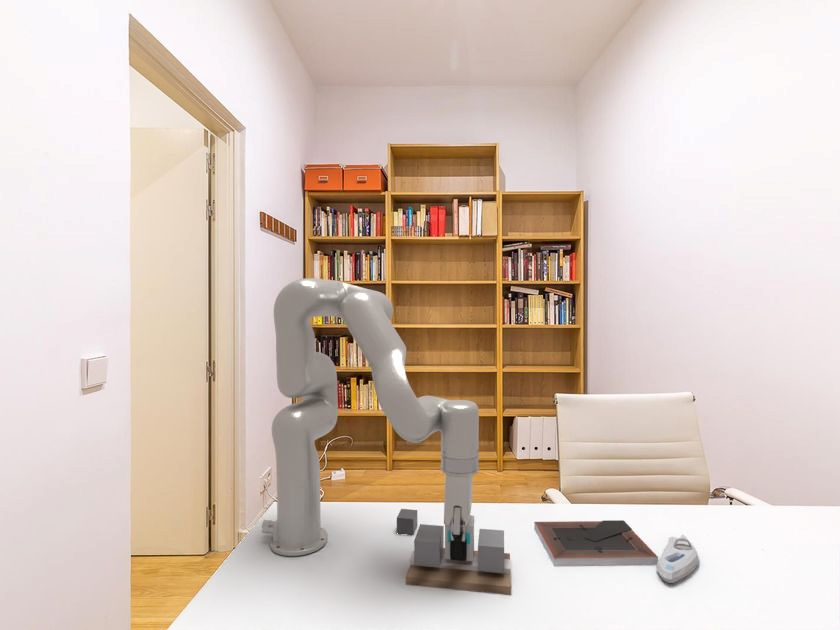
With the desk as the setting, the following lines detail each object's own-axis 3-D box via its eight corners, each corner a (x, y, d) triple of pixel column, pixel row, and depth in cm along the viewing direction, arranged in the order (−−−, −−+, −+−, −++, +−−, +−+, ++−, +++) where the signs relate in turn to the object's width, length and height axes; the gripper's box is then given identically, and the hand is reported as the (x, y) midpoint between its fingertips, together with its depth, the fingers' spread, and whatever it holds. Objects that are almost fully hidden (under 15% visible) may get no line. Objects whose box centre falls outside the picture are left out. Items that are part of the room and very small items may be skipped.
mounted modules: (414, 565, 95) (414, 540, 95) (420, 547, 102) (420, 524, 102) (504, 573, 92) (504, 547, 92) (504, 554, 99) (504, 530, 99)
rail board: (405, 584, 93) (405, 571, 93) (416, 552, 105) (416, 541, 105) (511, 594, 90) (511, 581, 90) (509, 560, 101) (509, 548, 101)
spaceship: (690, 595, 90) (690, 572, 90) (651, 584, 94) (651, 561, 93) (703, 544, 109) (703, 524, 109) (671, 536, 112) (671, 517, 112)
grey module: (444, 559, 95) (444, 524, 95) (447, 546, 100) (447, 513, 100) (472, 561, 94) (472, 526, 94) (474, 549, 99) (474, 515, 99)
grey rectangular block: (396, 534, 113) (396, 517, 113) (401, 524, 118) (401, 508, 118) (413, 536, 113) (413, 519, 112) (417, 526, 117) (417, 510, 117)
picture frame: (623, 530, 116) (534, 531, 116) (623, 520, 116) (534, 520, 116) (658, 568, 100) (554, 569, 99) (658, 556, 100) (554, 557, 99)
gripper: (446, 449, 106) (445, 530, 106) (435, 476, 89) (435, 574, 89) (480, 450, 104) (480, 533, 105) (476, 479, 88) (476, 577, 88)
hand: (459, 551), depth 97 cm, fingers closed on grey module, 4 cm apart
